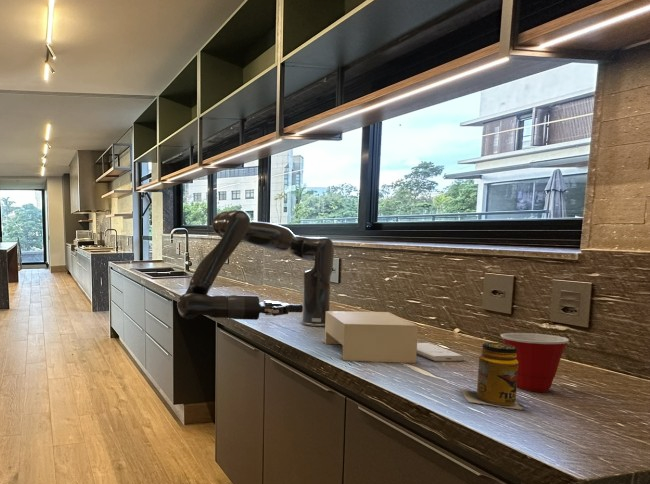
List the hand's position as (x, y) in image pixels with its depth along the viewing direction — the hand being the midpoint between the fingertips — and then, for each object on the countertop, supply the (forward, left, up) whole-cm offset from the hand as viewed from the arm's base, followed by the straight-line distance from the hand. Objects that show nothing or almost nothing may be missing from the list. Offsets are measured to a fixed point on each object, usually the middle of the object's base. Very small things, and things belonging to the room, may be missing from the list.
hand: (302, 308), depth 124 cm
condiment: (+33, +30, -13) cm, 47 cm away
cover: (0, +18, -13) cm, 22 cm away
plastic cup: (+24, +43, -13) cm, 51 cm away
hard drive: (0, +35, -13) cm, 37 cm away
